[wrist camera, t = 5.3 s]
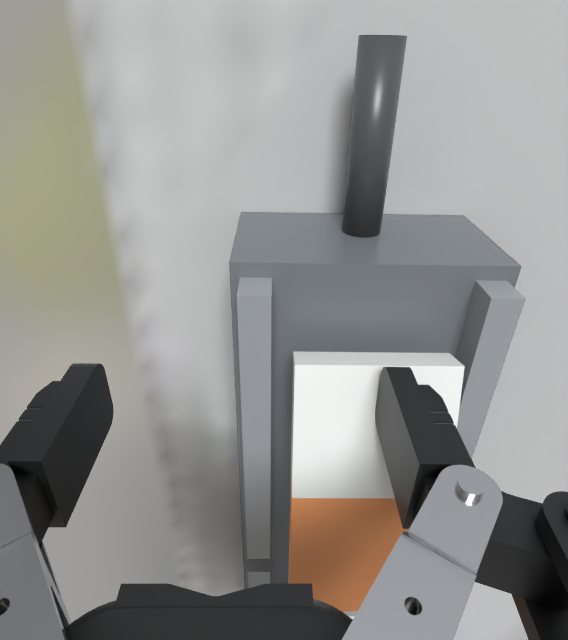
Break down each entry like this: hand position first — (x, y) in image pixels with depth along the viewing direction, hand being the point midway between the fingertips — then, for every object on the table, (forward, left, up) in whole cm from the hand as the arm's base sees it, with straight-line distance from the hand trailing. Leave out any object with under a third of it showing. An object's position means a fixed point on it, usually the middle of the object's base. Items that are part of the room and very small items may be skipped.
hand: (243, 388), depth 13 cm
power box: (-8, +4, -8) cm, 12 cm away
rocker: (-6, +1, 0) cm, 6 cm away
